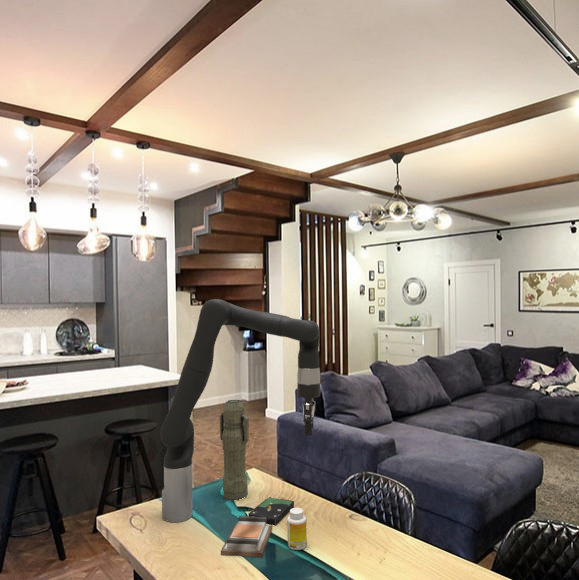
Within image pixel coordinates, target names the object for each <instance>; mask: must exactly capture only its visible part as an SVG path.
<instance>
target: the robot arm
mask: <svg viewBox="0 0 579 580" xmlns="http://www.w3.org/2000/svg"><path fill="white" fill-rule="evenodd" d="M223 326H235V327H236V326H237V327H243V328H247V329H251V330H254V331H257V332H260V333H264V334H267V335H271V336H277V337H281V338H282V337H283V338H288V339H291V340H295V341H298V345H299V350H298V353H297V354H298V355H297V375H296V376H297V377H296V380H297V383H296V384H297V385H296V386H297V387H296V388H297V396H298V398H304V401H302V416H303V421H302V422H303V423H304V435H305V436H309V437H310V436H312V435H313V429H314V417H315V412H316V401H315V399H316V398H319V397H320V396H321V369H320V353H319V352H320V351H319V349H320V327H319V325H318V323H316V322H315V321H313V320H309V319H308V320H306V319H299V318H294V317H293V318H292V317H290V316H287V315H283V314H277V313H272V312H267V311H260V310H254V309H249V308H245V307H242V306H241V307H240V306H238V305H235V304H232V303H231V302H229V301H226V300H223V299H219V298H217V299H216V298H215V299H209V300H206V302H204V304H203V305H202V306H201V308H200V312H199V316H198V322H197V326H196V329H195V334H194V337H193V340H192V342H191V345H190V347H189V350H188V353H187V356H186V358H185V362H184V364H183V366H182V369H181V373H180V376H179V379H178V383H177V386H176V389H175V392H174V395H173V400H172V403H171V405H170V408H169V410H168V412H167V414H166V417H165V419H164V421H163V423H162V425H161V428H160V432H159V433H160V435H159V437H160V440H161V442H162V444H163V445H164V446H165V447H166V448H167V449H166V452H165V455H164V458H163V484H164V485H163V486H164V487H163V489H162V491H161V519H162V520H164V521H167V522H169V523H180V522H184V521H187V520H189V519H190V518H191V517H193V510H194V509H193V457H194V456H193V455H194V452H195V451H194V450H195V449H194V448H195V427H194V423H193V421H192V419H191V416H192V412H193V410H194V409H195V406H196V405H197V403H198V401H199V399H200V398H201V396H202V394H203V392H204V391H205V389H206V386H207V384H208V382H209V378H210V375H211V373H212V370H213V369H212V368H213V364H214V358H215V357H214V356H215V346H216V341H217V339H218V336H219V333H220V331H221V329H222V327H223Z"/></svg>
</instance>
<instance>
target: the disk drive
mask: <svg viewBox="0 0 579 580" xmlns="http://www.w3.org/2000/svg"><path fill="white" fill-rule="evenodd" d="M292 508H295V501H294V500H289V499H283V498H280V499H279V498H274V497H271V496H269V497H267V498H265V499H264V500H263V501H261V502H260V503H259V504H258V505H257V506H255V508H253V509H252V510H251V511H250V512H249V513H248V515H247V516H249V517H267V522H266V525H268V524H269V526H273V525H274V526H273V527H275V526H277V525H279V524H280V522H282V520H283V519H284V518H285V517H287V515H288V514H290V510H291V509H292Z"/></svg>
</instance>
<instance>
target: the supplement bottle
mask: <svg viewBox="0 0 579 580" xmlns="http://www.w3.org/2000/svg"><path fill="white" fill-rule="evenodd" d="M286 519H287V521H286V526H287V527H286V528H287V530H286V531H287V532H286V533H287V546H288V548H289V549H291V550H293V551H301V550H304V549H305V548H306V547H307V544H308V542H307V539H308V537H307V518H306V516H305V515H304V509H303V508H301V507H294V508H292V509H291V510H290V512H289V515H288V517H287V518H286Z"/></svg>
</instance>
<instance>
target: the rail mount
mask: <svg viewBox="0 0 579 580" xmlns="http://www.w3.org/2000/svg"><path fill="white" fill-rule="evenodd" d="M237 519H238V522H237V523H234V525H233V527H232V529H231V531H230V533H229V534H228V536H227V538H226V539H225V542H224V544H223V546H222V547H221V550H220V556H234V557H235V556H236V557H254V558H263V556H264V554H265V551H266V548H267V546H268V543H269V540H270V536H271V535H272V531H273V525H268V524H266V522H267V517H249V516H248V515H246V516H245V515H239V516H238V518H237Z"/></svg>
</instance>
